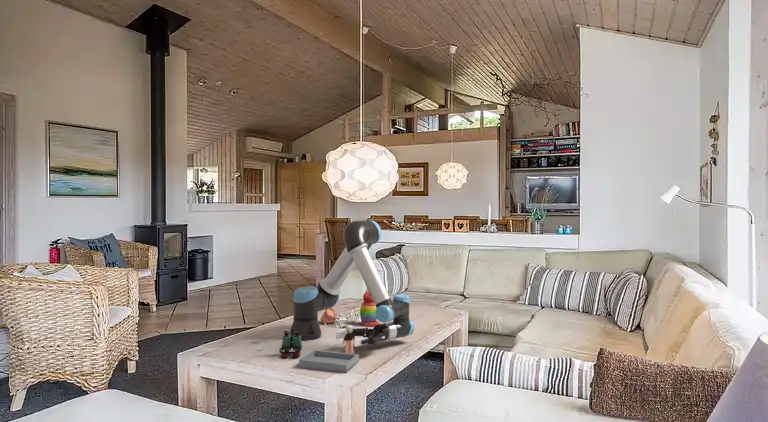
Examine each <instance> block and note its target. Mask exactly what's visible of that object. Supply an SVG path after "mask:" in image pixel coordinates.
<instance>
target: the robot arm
mask: <svg viewBox="0 0 768 422" xmlns="http://www.w3.org/2000/svg"><path fill="white" fill-rule="evenodd" d="M381 229H382V228H381V227H380V224H378V223H377V222H376V221H374V220H370V219H365V220H354V221H350V222H349V223H348V224H346V225H345V228H344V229H343V231H342V239H343V243H344V246H345V248H344V249H343V251H342V252H341V253H340V255H339V257H338V258H337V260H336V261H335V263H334V265H332V267H331V269H330V270H329V273H328V274H327V275H326V277H325V278H322V279H320V280H319V282H318V283H317V285H316V286H315V285H314V286H313V285H307V286H306V285H305V286H300V287H298V288H296V289H295V290H294V292H293V297H292V299H293V302H292V303H293V321H292V324H291V327H290V330H289V335H292V339H293V335H295V332H296V331H300V333H299V335H300V336H301V341H312V340H314V341H315V340H317V339H320V338H321V337H322V329H321V327H320V324H319V319H318V317H319V316H318V314H319V312H320V311H326V309H329V308H333V307H334V306H336V305H337V304H338V302H339V299H340V296H339V295H340V294H341V287H342V285H343V283H344V282H345V281H346V279H347V278H348V276H349V274H350V273H351V271H352V270H353V268H354V267H355V265H356V267H357V269H358V271H359V274H360V275H361V277H362V280H363V281H364V284H365V287H366V288H367V291H369V293H370V295H371V297H372V299H373V301H374V303H375V305H376V308H377V309H376V311H375V316H376V318H377V319H376V321H378V322H379V323H380V324H378V325H375V327H372V328H369V327H361V328H360V327H359V328H357V327H356V328H353V331H352V333H353V334H354V336H355V337H360V338H355V340H353V348H354V347H360V346H365V345H372V346H374V345H376V344H378V343H380V342H385V341H391V340H394V339H399V338H405V337H409V336H411V335H413V334H414V332H415V325H414V321H413V320H412V319H410V304H411V303H410V296H409V295H407V294H401V293H399V294H398V293H397V294H395V295H393V297H392V298H393V299H391V296H390V294H389V292H388V290H387V287H386V285H385V284H384V281H383V278H382V277H381V275H380V272H379V271H378V269H377V266H376V265H375V262H374V259H373V257H372V256H371V254H370V251H369V250H370V249H371V247H372V246H373V245H375V244H377V243H378V242H379V241H380V240H381V237H382V230H381ZM346 334H347V331H346V330H343V331H338V332H335V339H336V340H340V339H344V337H345V335H346Z"/></svg>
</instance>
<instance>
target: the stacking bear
mask: <svg viewBox="0 0 768 422" xmlns="http://www.w3.org/2000/svg"><path fill="white" fill-rule="evenodd" d="M362 299H363V302H362V303H361V304H360V305H361V306H360V310H359V317H360V323H361V325H360V326H362V327H364V328H369V327H371V328H374V327H375V325H378V324H381V322H380V321H378V320H377V318H376V316H375V311H376V309H377V308H376V305H375V303H374V301H373V299H372V297H371V295H370V293H369V291H368V290H366V291H365V292H364V293H363V296H362Z"/></svg>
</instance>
